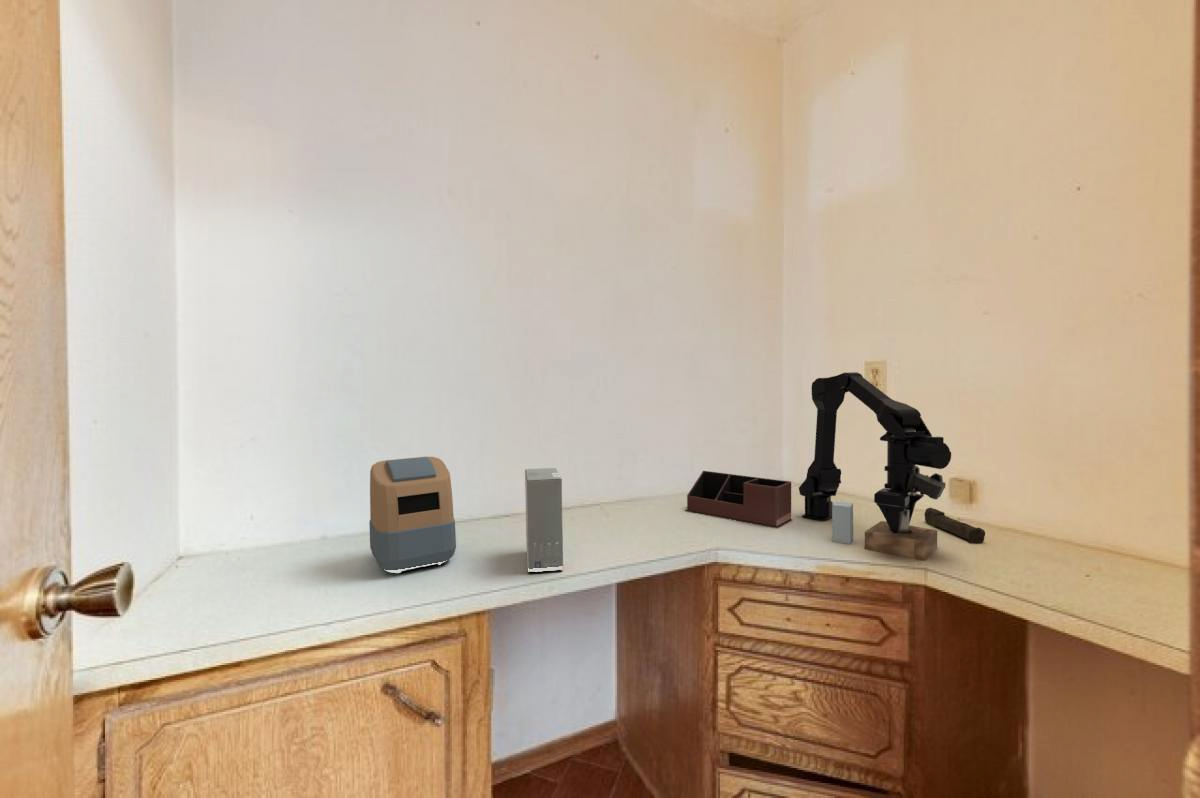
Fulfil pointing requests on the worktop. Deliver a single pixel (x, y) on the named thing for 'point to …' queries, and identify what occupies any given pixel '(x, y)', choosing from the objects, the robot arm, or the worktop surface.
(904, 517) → the cylinder
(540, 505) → the hard drive box
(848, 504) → the gray rectangular block
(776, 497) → the desk organizer
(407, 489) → the alarm clock
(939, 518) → the hand tool
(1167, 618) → the worktop surface
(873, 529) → the bore block
